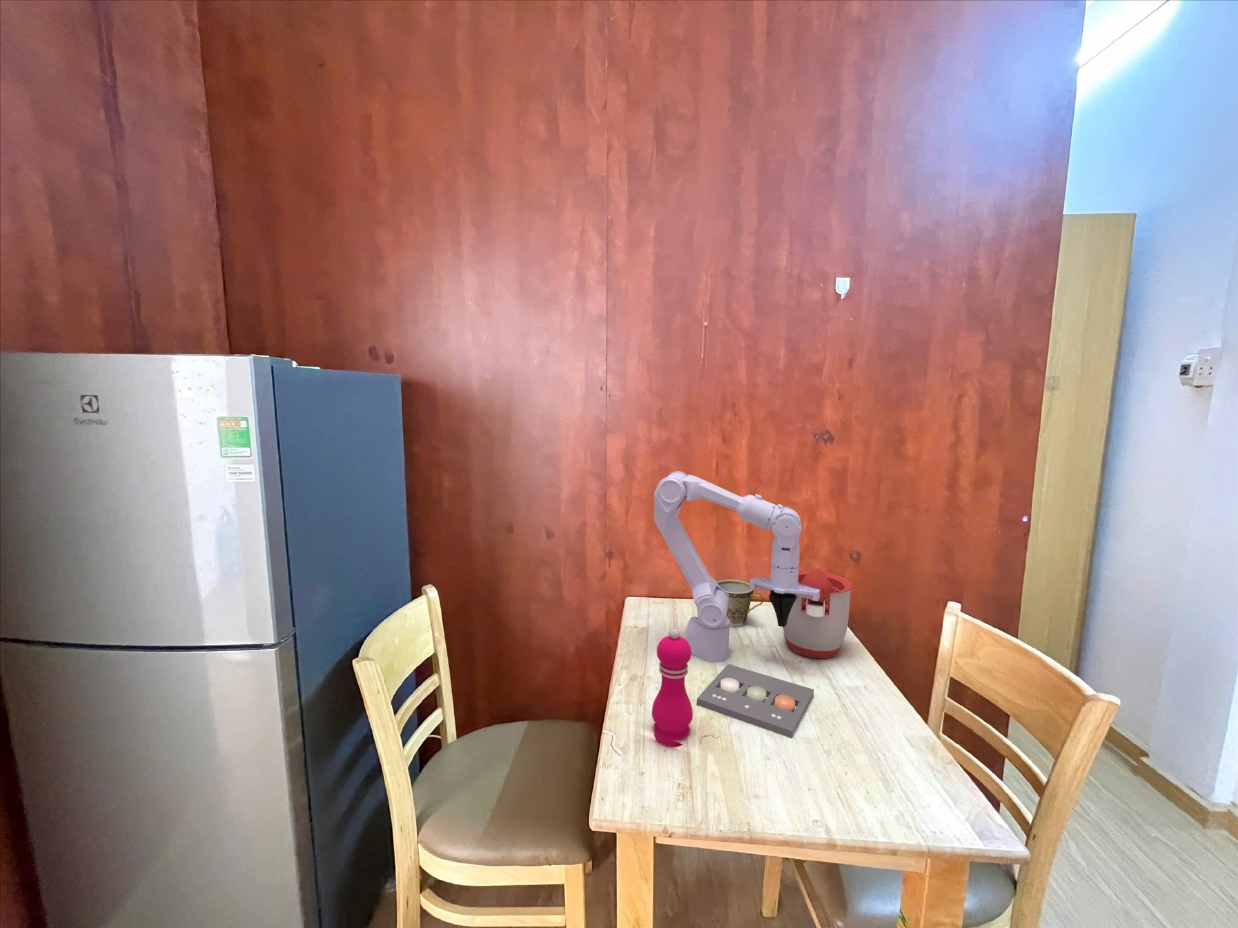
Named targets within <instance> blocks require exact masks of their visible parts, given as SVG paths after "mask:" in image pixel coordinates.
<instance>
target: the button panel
mask: <svg viewBox="0 0 1238 928" xmlns="http://www.w3.org/2000/svg"><path fill="white" fill-rule="evenodd" d="M724 678H732V679H735V680H737V681H738V682H739V691H738V692H737V694H735V693H732V692H729V691H726V690H723V689H720V687H721V680H722V679H724ZM751 686H758V687H761V688H763V689H765V691H766V701H765V702H764V703H763V702H760V701H757V700H754V699H751V698H748V697H747V689H748V688H749V687H751ZM778 695H787V696H790V697H792V698H793V699H794V700H795V710H794V712H791V711H788V710H785V709H782V708H778V707H775V697H776V696H778ZM814 697H815V689H814V688H811V687H807V686H804V685H800V684H797V683H795V682H794V683H793V682H791V681H788V680H787V681H786V680H784V679H781V678H776V677H774V676H771V675H766V674H763V673H761V672H757V671H754V670H750V669H746V668H743V667H740V666H737V665H733V664H730V663H727V664H726V665H725V667H723V669H722V670H721V671H720V672H719V673H718V674H717V675H716V676H715V678H714V679H713V680H712V681H711V682H710V683H709V684H708V685H707V686H706V688H705V689H704V690H703V691H702V692H701V693H700V694H699V695H698V697H697V698H696V706H699V707H701V708H704V709H707V710H710V711H713V712H715V713H719V714H721V715H723V716H726V717H730V718H733V719H734V720H735V719H736V720H738V721H742V722H744V723H747V724H750V725H753V726H755V727H758V728H761V729H764V730H767V731H770V732H773V733H775V734H778V735H781V736H784V737H787V738H789V739H793V737H794V734H795V732H796V731H797V729H798V727H799V726H800V723H801V721H802V719H803V717H804V715H805V713H806V711H807V709H808V708H809V705H810V704H811V702H812V700H813V698H814Z"/></svg>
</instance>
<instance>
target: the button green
mask: <svg viewBox="0 0 1238 928" xmlns="http://www.w3.org/2000/svg"><path fill="white" fill-rule="evenodd" d="M746 697H748V698H751V699H754V700H757V701H760V702H763V703H764V702H765V701H766V699H767V697H766V691H765V689H763V688H761V687H758V686H751V687H749V688H748V689H747V695H746Z"/></svg>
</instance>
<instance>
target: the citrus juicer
mask: <svg viewBox="0 0 1238 928" xmlns="http://www.w3.org/2000/svg"><path fill="white" fill-rule="evenodd" d="M798 584H801V585H804V586H808V587H811V588H814V589H819V590H820V598H819V600H818V601H814V600H812V599H809V598H804V597H799V596H798V597H797V599H796V601H795V602H794V604H793V606H792V608H791V611H790V614H789V617H788V621H787V625H786V626H785V627H782V630H783V635H784V640H785V642H786V644H787V646H788V647H789V649H790V650H792V651H793V652H794V653H796V654H799V655H802V656H804V657H809V658H813V659H815V658H816V659H831V658H833V657H835V656H836V655H837V654H838V653H839V652H840V649H841V648H842V646H843V642H844V641H845V638H846V635H847V631H848V627H849V625H848V624H849V618H850V617H849V616H850V607H851V606H850V603H851V593H852V592H851V591H852V589H853V584H852V582H851V581H849V580H848V579H847V578H846V577H843V576H841V575H839V574H838V575H837V574H834V573H832V572H827V571H822V570H821V569H820V568H819V567H815V568H813V569H799V574H798Z"/></svg>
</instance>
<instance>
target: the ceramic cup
mask: <svg viewBox="0 0 1238 928" xmlns="http://www.w3.org/2000/svg"><path fill="white" fill-rule="evenodd" d="M716 582H717V584H718V585H719V586H720V587H721V588H722V589H723V590H725V591H726V592H727V594H728V595H729V598H730V605H729V607H728V610H727V617H728V619H729V620H730V628H741V627H743V626H745V625H746V623H747V619H748V614H749V613H750V612H751V611H753V610H754V609H755V608H757V607H759V606H761V605H762V604H763V602H764V598H763V595H762V594H760V593H757V592H756V593H754V589H753V588H750V582H746V581H743V580H738V579H724V580H719V581H716ZM755 597H758V598H760V600H761V602H760V603H758V604H756V605H754V606H752V608H750V606H751V602H752V600H753V598H755Z"/></svg>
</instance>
